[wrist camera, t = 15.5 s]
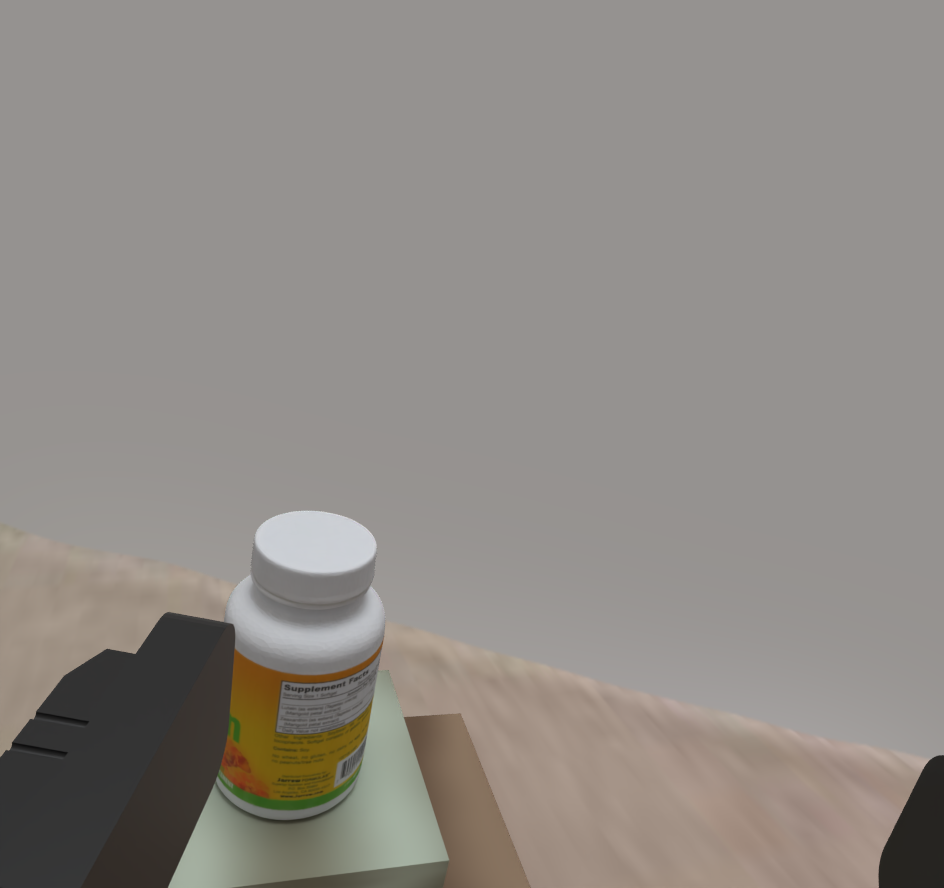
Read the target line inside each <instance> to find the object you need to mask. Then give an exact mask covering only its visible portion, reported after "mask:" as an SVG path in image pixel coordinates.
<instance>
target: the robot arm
mask: <svg viewBox="0 0 944 888" xmlns="http://www.w3.org/2000/svg"><path fill="white" fill-rule="evenodd" d="M234 651H235V627H234V625H233V624H231V623H226V622H220V621H215V620H209V619H204V618H198V617H193V616H187V615H182V614H176V613H171V612H167V613H165V614H164V615H163V616H162V617H161V618H160V620H159V621H158V622H157V624H156V625H155V627H154V628H153V630H152V631H151V632H150V634H149V635H148V637H147V638H146V640H145V641H144V643H143V644H142V646H141V647H140V648H139V650H138V651H137V653H136V654H132V653H127V652H121V651H116V650H110V649H106V650H104V651H103V652H101V653H100V654H98V655H96V656H95V657H93V658H92V659H90V660H88V661H87V662H85V663H84V664H82V665H81V666H79V667H77V668H76V669H74V670H73V671H71V672H69V673H68V674H66V675H65V676H64V677H63V678H62V679H61V681H60V682H59V683H58V685H57V686H56V687H55V688H54V690H53V691H52V692H51V693H50V695H49V696H48V697H47V699H46V700H45V701H44V702H43V704H42V705H41V706H40V708H39V709H38V710H37V711H36V716H35V718H34V720H33V719H30V720H29V722H28V723H27V724H26V725H25V727H24V728H23V729H22V731H21V732H20V733H19V734H18V736H17V737H16V738H15V739H14V741H13V742H12V747H11V749H10V750H9V751H8V750H6V751H5V752H4V754H3V755H2V756H1V757H0V888H168V886H169V884H170V882H171V880H172V878H173V875H174V873H175V871H176V869H177V866H178V864H179V862H180V860H181V858H182V855H183V853H184V851H185V849H186V846H187V844H188V842H189V840H190V838H191V835H192V833H193V831H194V829H195V826H196V824H197V822H198V820H199V818H200V815H201V813H202V811H203V809H204V806H205V804H206V802H207V800H208V798H209V795H210V793H211V791H212V789H213V786H214V784H215V781H216V778H217V776H218V773H219V770H220V766H221V763H222V759H223V755H224V751H225V747H226V742H227V736H228V728H229V716H230V703H231V690H232V677H233V664H234ZM879 888H944V755H942V756H936V757H934V758H932V759H931V760H930V761H929V762H928V763H927V764H926V766H925V767H924V769H923V771H922V773H921V775H920V777H919V779H918V781H917V783H916V785H915V787H914V789H913V791H912V793H911V795H910V797H909V799H908V801H907V803H906V805H905V807H904V809H903V811H902V813H901V815H900V817H899V819H898V821H897V823H896V825H895V827H894V829H893V831H892V833H891V835H890V837H889V839H888V841H887V843H886V845H885V847H884V850H883V852H882V855H881V859H880V865H879Z"/></svg>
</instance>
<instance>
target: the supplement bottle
mask: <svg viewBox="0 0 944 888" xmlns="http://www.w3.org/2000/svg"><path fill="white" fill-rule="evenodd" d="M376 553H377V546H376V542H375V539H374V537H373V536H372V534H371V533H370V532H369V531H368V530H367V529H366V528H365V527H364V526H362V525H361V524H359V523H357V522H356V521H354V520H351V519H349V518H347V517H344V516H341V515H337V514H332V513H327V512H321V511H295V512H289V513H284V514H281V515H277V516H275V517H273V518H271V519H269V520H267V521H265V522H264V523H263V524H262V525H261V526H260V527H259V528H258V530H257V531H256V534H255V537H254V543H253V551H252V561H251V574H250V575H249V576H247V577H246V578H245V579H244V580H242V581H241V582H240V583H239V584H238V585H237V586H236V588H235V589H234V590H233V592H232V593H231V595H230V597H229V600H228V602H227V606H226V611H225V618H224V622H226V623H231V624H233V625H234V627H235V651H234V664H233V677H232V690H231V703H230V716H229V728H228V736H227V742H226V747H225V751H224V755H223V759H222V763H221V766H220V770H219V773H218V776H217V778H216V782H217V784H218V786H219V788H220V789H221V791H222V792H223V794H224V795H225V796H226V797H227V798H228V799H229V800H230V801H231V802H232V803H234V804H235V805H236V806H238V807H239V808H241V809H243V810H245V811H247V812H249V813H251V814H254V815H256V816H260V817H263V818H268V819H274V820H295V819H302V818H307V817H311V816H314V815H317V814H320V813H322V812H324V811H326V810H328V809H330V808H332V807H333V806H335V805H336V804H338V803H339V802H340V801H341V800H342V799H344V798H345V797H346V796H347V795H348V794H349V792H350V791H351V790H352V788H353V787H354V785H355V783H356V781H357V779H358V776H359V773H360V769H361V765H362V761H363V756H364V751H365V745H366V739H367V733H368V726H369V720H370V715H371V709H372V703H373V697H374V691H375V685H376V679H377V673H378V667H379V661H380V656H381V650H382V644H383V639H384V630H385V613H384V608H383V605H382V602H381V600H380V598H379V596H378V594H377V593H376V591H375V590H374V589H373V588H372V587H371V586H370V585H371V583H372V581H373V578H374V569H375V559H376Z"/></svg>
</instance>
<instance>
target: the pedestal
mask: <svg viewBox="0 0 944 888" xmlns="http://www.w3.org/2000/svg"><path fill="white" fill-rule="evenodd" d="M168 888H531V887H530V885H529V882H528V880H527V877H526V875H525V872H524V870H523V867H522V865H521V862H520V860H519V857H518V855H517V852H516V850H515V847H514V845H513V842H512V840H511V838H510V835H509V833H508V830H507V828H506V825H505V823H504V820H503V818H502V815H501V813H500V810H499V808H498V805H497V803H496V800H495V798H494V795H493V793H492V790H491V788H490V785H489V783H488V780H487V778H486V775H485V773H484V771H483V768H482V766H481V763H480V761H479V758H478V756H477V753H476V751H475V748H474V746H473V743H472V741H471V738H470V736H469V733H468V731H467V728H466V726H465V723H464V721H463V718H462V716H461V714H446V715H431V716H416V717H403V714H402V710H401V707H400V704H399V701H398V698H397V695H396V692H395V689H394V685H393V682H392V679H391V676H390V673H389V670H383V671H378V673H377V679H376V685H375V691H374V697H373V703H372V709H371V715H370V720H369V726H368V733H367V739H366V745H365V751H364V756H363V761H362V765H361V769H360V773H359V776H358V779H357V781H356V783H355V785H354V787H353V788H352V790H351V791H350V792H349V794H348V795H347V796H346V797H345V798H344V799H342V800H341V801H340V802H339V803H338V804H336V805H335V806H333V807H332V808H330V809H328V810H326V811H324V812H322V813H320V814H317V815H314V816H311V817H307V818H302V819H295V820H274V819H268V818H263V817H260V816H256V815H254V814H251V813H249V812H247V811H245V810H243V809H241V808H239V807H238V806H236V805H235V804H234V803H232V802H231V801H230V800H229V799H228V798H227V797H226V796H225V795H224V794H223V792H222V791H221V789H220V788H219V786H218V784H217V782H216V781H215V784H214V786H213V789H212V791H211V793H210V795H209V798H208V800H207V802H206V804H205V806H204V809H203V811H202V813H201V815H200V818H199V820H198V822H197V824H196V826H195V829H194V831H193V833H192V835H191V838H190V840H189V842H188V844H187V846H186V849H185V851H184V853H183V855H182V858H181V860H180V862H179V864H178V866H177V869H176V871H175V873H174V875H173V878H172V880H171V882H170V884H169V886H168Z"/></svg>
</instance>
